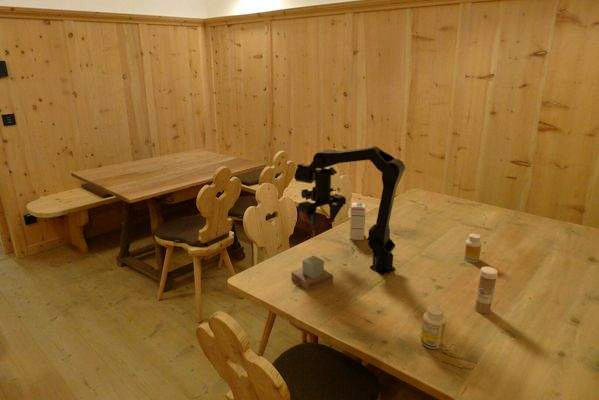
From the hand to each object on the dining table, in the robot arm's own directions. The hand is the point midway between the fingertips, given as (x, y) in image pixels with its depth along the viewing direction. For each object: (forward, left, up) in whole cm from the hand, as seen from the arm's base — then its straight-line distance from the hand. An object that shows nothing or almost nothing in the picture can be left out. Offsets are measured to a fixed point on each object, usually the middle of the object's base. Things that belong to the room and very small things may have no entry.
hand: (322, 225), depth 151 cm
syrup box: (+3, -22, -12) cm, 25 cm away
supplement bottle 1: (-57, +10, -12) cm, 59 cm away
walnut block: (-13, +15, -12) cm, 23 cm away
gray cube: (-13, +15, -10) cm, 22 cm away
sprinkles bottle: (-57, -15, -12) cm, 60 cm away
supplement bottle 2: (-37, -42, -12) cm, 57 cm away
